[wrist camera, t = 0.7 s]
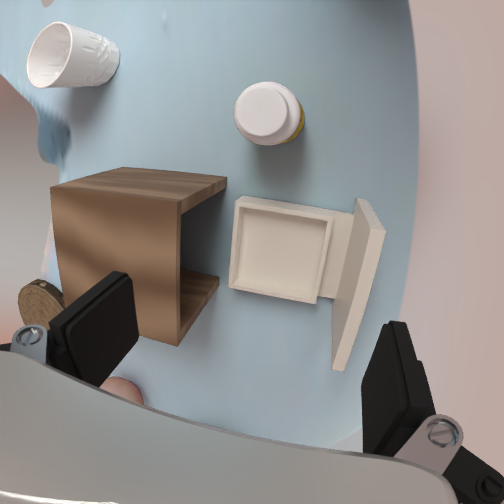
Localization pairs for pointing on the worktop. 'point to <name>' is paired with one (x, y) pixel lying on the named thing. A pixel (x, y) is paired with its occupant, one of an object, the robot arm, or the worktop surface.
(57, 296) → the brown round disc
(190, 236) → the worktop surface
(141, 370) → the worktop surface
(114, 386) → the decorative fruit
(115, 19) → the worktop surface
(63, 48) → the white cup
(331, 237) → the drawer
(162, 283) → the cabinet
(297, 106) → the supplement bottle
